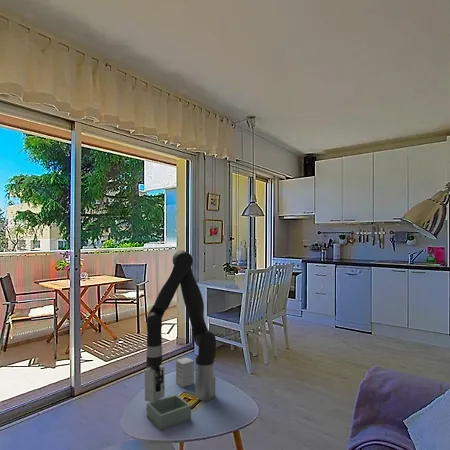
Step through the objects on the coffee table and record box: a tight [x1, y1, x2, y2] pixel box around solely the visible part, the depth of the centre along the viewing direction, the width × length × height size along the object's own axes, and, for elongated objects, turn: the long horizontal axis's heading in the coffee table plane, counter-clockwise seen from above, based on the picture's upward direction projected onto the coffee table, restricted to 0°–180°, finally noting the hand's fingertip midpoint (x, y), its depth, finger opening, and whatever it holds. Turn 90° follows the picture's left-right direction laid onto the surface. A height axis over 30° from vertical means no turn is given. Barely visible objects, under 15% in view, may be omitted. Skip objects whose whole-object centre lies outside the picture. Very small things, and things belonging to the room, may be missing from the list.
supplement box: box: [175, 357, 195, 388], centre depth 189 cm, size 7×7×13 cm
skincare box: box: [144, 364, 166, 403], centre depth 166 cm, size 8×6×15 cm
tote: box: [146, 394, 192, 432], centre depth 154 cm, size 15×13×6 cm
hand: (154, 388), depth 166 cm, fingers closed on skincare box, 7 cm apart
